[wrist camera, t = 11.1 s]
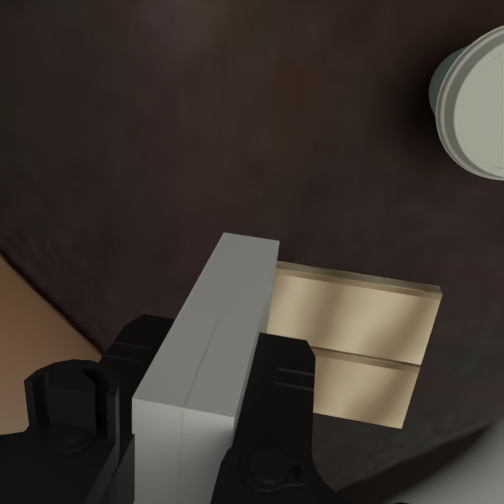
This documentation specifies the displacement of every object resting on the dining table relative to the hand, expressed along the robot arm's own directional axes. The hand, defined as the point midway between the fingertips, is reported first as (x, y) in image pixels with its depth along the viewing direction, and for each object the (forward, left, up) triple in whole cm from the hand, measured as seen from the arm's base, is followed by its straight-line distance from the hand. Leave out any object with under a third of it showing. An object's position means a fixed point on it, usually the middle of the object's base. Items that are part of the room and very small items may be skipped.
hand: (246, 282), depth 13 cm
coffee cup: (+12, +4, -29) cm, 31 cm away
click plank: (+4, -16, -28) cm, 33 cm away
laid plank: (+4, -24, -28) cm, 37 cm away
